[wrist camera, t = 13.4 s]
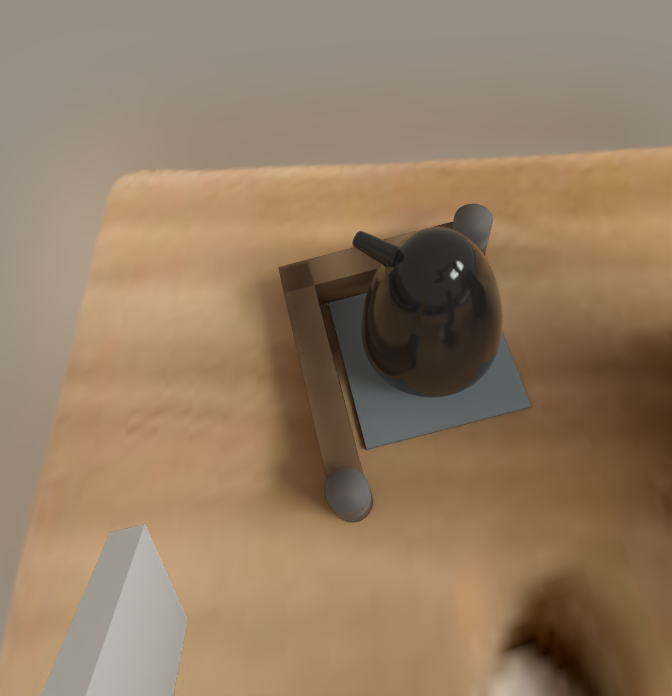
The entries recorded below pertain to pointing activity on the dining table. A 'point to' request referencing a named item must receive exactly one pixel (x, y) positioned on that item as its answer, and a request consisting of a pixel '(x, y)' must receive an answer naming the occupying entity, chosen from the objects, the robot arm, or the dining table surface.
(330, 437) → the wooden corner bracket
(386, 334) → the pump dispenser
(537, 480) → the dining table surface
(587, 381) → the dining table surface
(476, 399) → the pad
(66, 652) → the robot arm
